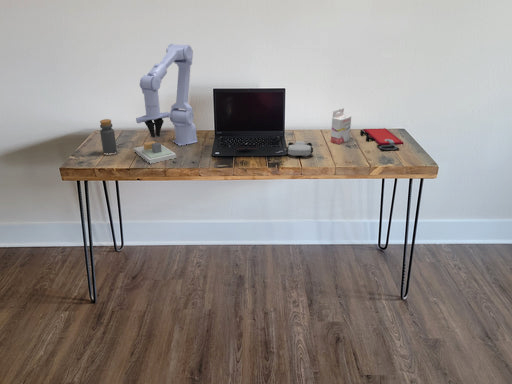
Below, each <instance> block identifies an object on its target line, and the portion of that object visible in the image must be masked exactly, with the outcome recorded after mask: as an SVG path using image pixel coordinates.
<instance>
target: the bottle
mask: <svg viewBox="0 0 512 384" xmlns="http://www.w3.org/2000/svg"><path fill="white" fill-rule="evenodd" d="M99 123H100V125H99V127H100V131H99V132H100V133H99V134H100V140H101V146H102V153H103V152H104V153H108V154H109V153H115V152H117V153H118V148H117V143H116V141H117V140H116V134H115V129H113V123H112V119H109V118H108V119H101V120H99Z"/></svg>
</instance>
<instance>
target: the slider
mask: <svg viewBox="0 0 512 384" xmlns="http://www.w3.org/2000/svg"><path fill="white" fill-rule="evenodd" d="M153 143H157V142H156V141H154V140H153V141H149V142H144V143H143V144H142V145H143V146H144V149H145V150H148V149H152V144H153Z"/></svg>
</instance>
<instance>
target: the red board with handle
mask: <svg viewBox="0 0 512 384" xmlns="http://www.w3.org/2000/svg"><path fill="white" fill-rule="evenodd" d="M364 131H365V132H364ZM364 135H366V136H365V141H366V142H368V143H369V142H370V141H374V142H375V143H376V146H377V148H379V149H380V150H381V151H382V150H383V151H384V150H385V151H387V150H388V151H389V150H391V151H392V150H400V148H399V147H398V146H399V145H401V144H402V145H404V141H403V140H401V139H400V138H398V137H397V136H396V135H394V134H393V133H392V132H391V131H390V130H388V129H387V128H385V127H384V128H363V130H362V129H360V132H359V136H361V137H364ZM397 145H398V146H397Z"/></svg>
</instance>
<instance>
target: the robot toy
mask: <svg viewBox="0 0 512 384" xmlns="http://www.w3.org/2000/svg"><path fill="white" fill-rule="evenodd" d="M287 145H288V146H287V147H286V148H285V149H284V151H286V153H287V154H288V155H290V156H292V157H296V156H302V157H308V156H310V155H311V154H313V153H314V151H315V150H314V147H313V145H314V143H311V142H307V143H306V142H305V141H303V140H296V141H294V143H293V142H291V141H289V142H287Z"/></svg>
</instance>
